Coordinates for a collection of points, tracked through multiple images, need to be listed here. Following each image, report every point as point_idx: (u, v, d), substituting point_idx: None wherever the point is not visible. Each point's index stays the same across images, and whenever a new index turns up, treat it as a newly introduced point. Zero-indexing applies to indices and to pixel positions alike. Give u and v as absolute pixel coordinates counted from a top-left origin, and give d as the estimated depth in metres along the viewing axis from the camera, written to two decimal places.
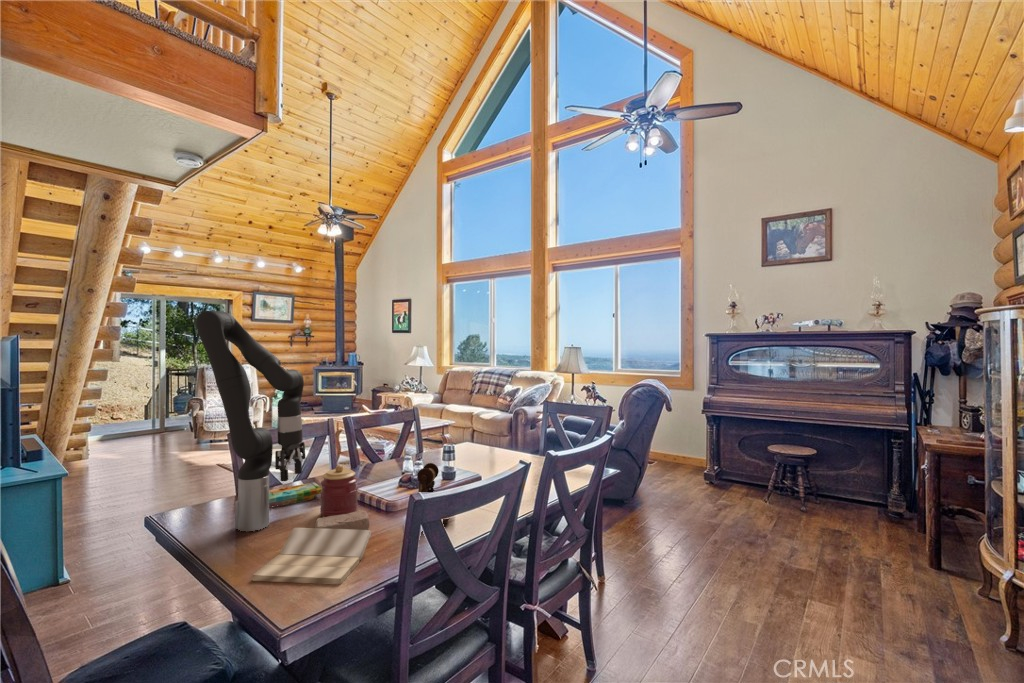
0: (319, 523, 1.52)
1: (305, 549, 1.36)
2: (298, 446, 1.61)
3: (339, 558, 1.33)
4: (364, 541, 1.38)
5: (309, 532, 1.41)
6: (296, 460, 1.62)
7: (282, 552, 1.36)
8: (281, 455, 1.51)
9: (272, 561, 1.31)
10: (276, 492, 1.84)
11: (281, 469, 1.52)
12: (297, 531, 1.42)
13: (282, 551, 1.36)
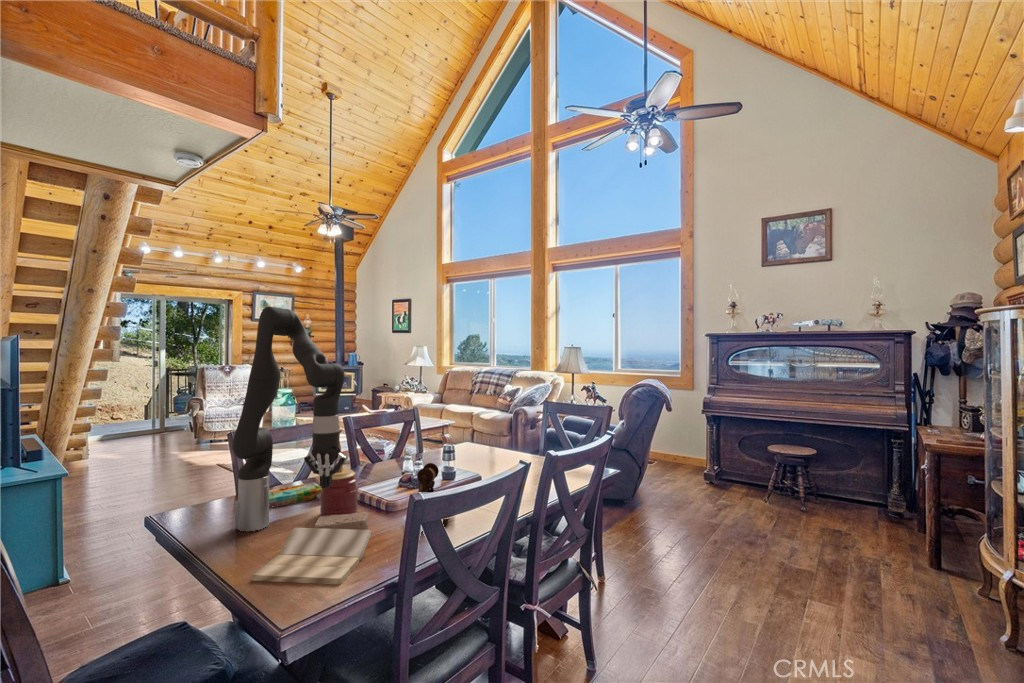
0: (318, 522, 1.53)
1: (305, 549, 1.36)
2: None
3: (339, 558, 1.33)
4: (364, 541, 1.38)
5: (309, 532, 1.41)
6: (323, 471, 1.40)
7: (282, 552, 1.36)
8: None
9: (272, 561, 1.31)
10: (276, 492, 1.84)
11: None
12: (297, 531, 1.42)
13: (282, 551, 1.36)
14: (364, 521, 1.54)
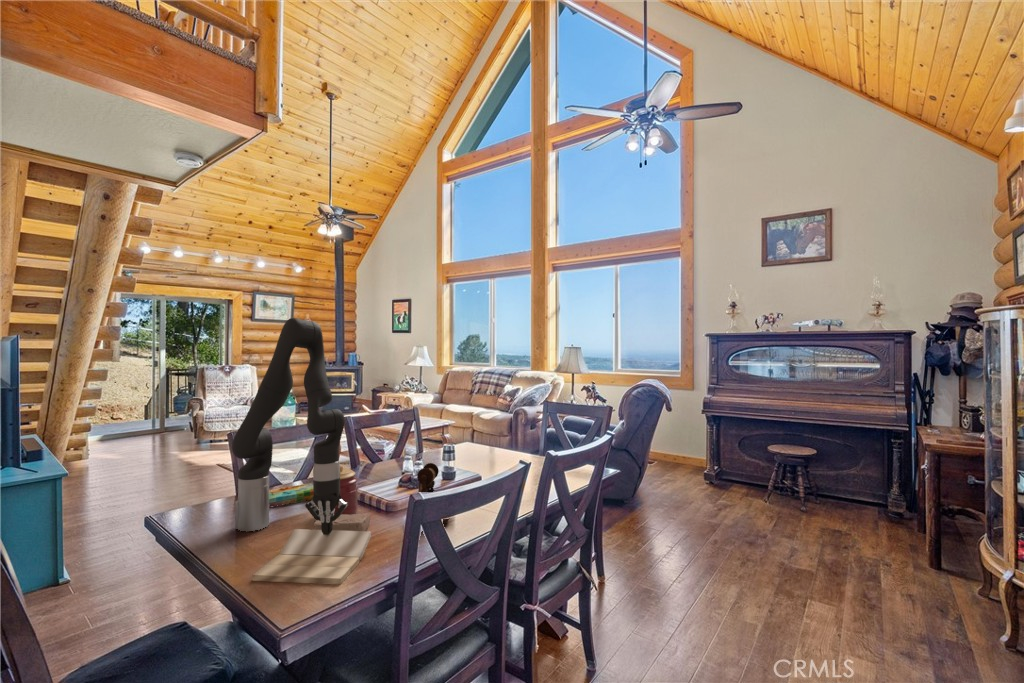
0: (318, 520, 1.55)
1: (305, 549, 1.36)
2: None
3: (339, 558, 1.33)
4: (364, 542, 1.38)
5: (309, 533, 1.42)
6: (324, 518, 1.41)
7: (282, 552, 1.36)
8: (345, 507, 1.42)
9: (272, 561, 1.31)
10: (276, 492, 1.84)
11: None
12: (297, 532, 1.42)
13: (282, 551, 1.36)
14: (360, 523, 1.52)
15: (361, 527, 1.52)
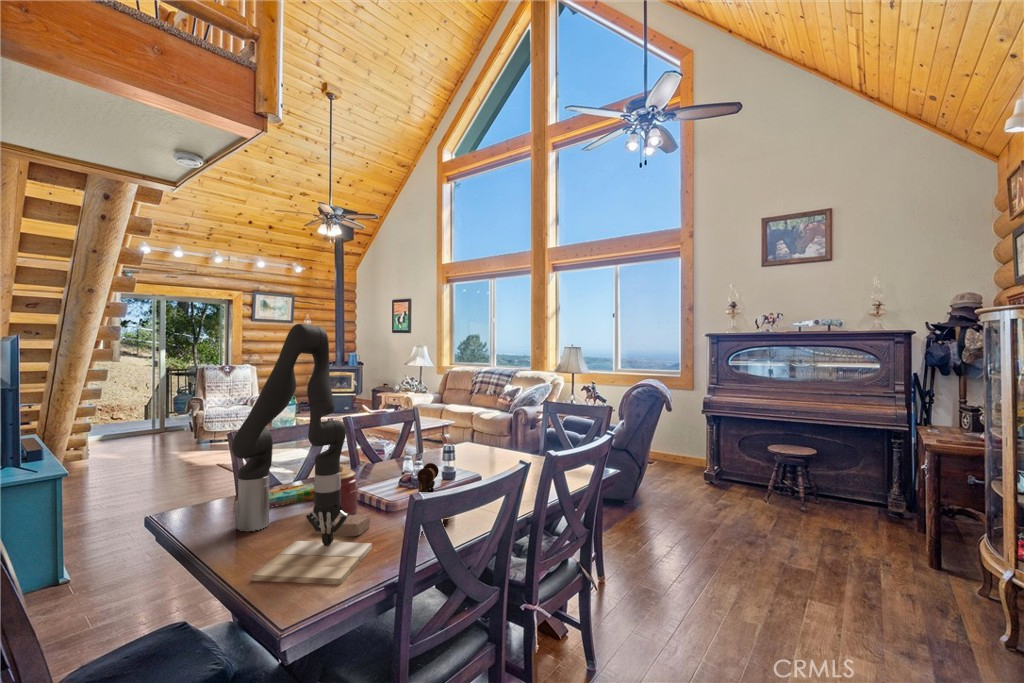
0: None
1: (305, 552, 1.37)
2: None
3: (339, 558, 1.33)
4: (365, 549, 1.39)
5: (311, 543, 1.42)
6: None
7: (282, 553, 1.36)
8: (346, 518, 1.42)
9: (272, 561, 1.31)
10: (276, 492, 1.84)
11: None
12: (299, 542, 1.43)
13: (282, 552, 1.36)
14: (356, 525, 1.51)
15: (357, 529, 1.51)
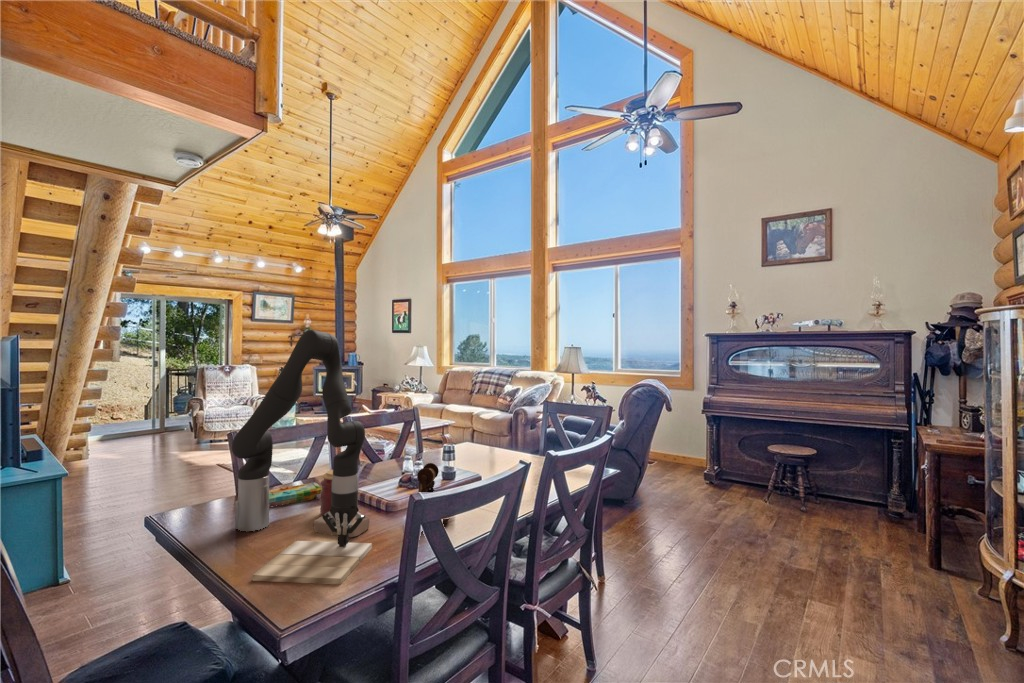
0: (320, 517, 1.57)
1: (305, 552, 1.37)
2: None
3: (339, 558, 1.33)
4: (365, 549, 1.39)
5: (311, 543, 1.42)
6: None
7: (282, 553, 1.36)
8: (362, 520, 1.41)
9: (272, 561, 1.31)
10: (276, 492, 1.84)
11: None
12: (299, 542, 1.43)
13: (282, 552, 1.36)
14: None
15: None
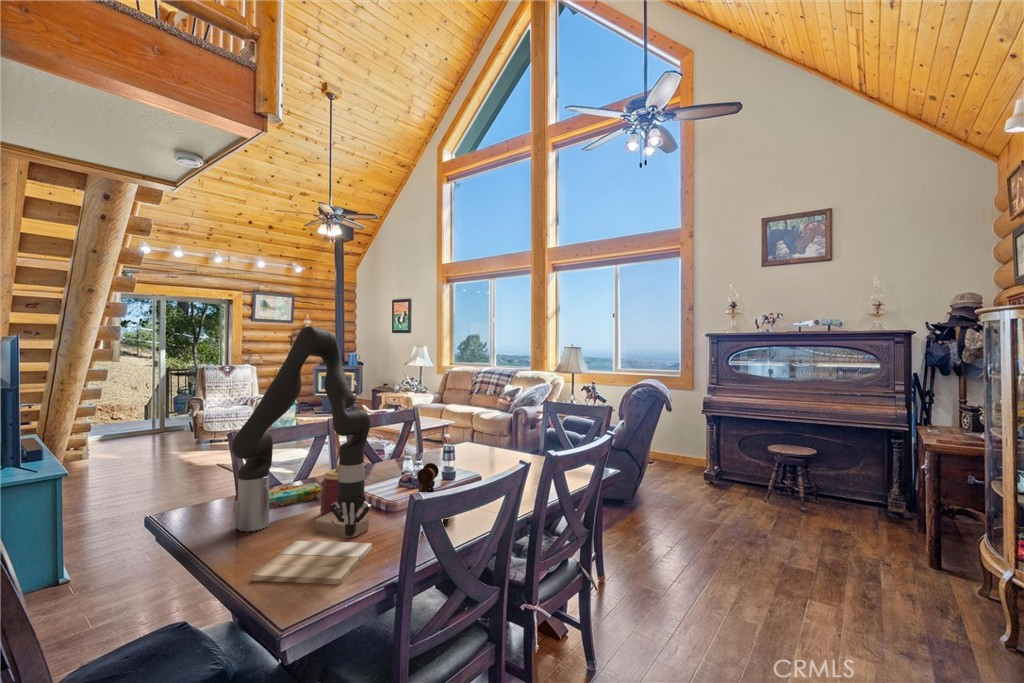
0: (321, 517, 1.57)
1: (305, 552, 1.37)
2: None
3: (339, 558, 1.33)
4: (365, 549, 1.39)
5: (311, 543, 1.42)
6: None
7: (282, 553, 1.36)
8: None
9: (272, 561, 1.31)
10: (276, 492, 1.84)
11: None
12: (299, 542, 1.43)
13: (282, 552, 1.36)
14: None
15: None
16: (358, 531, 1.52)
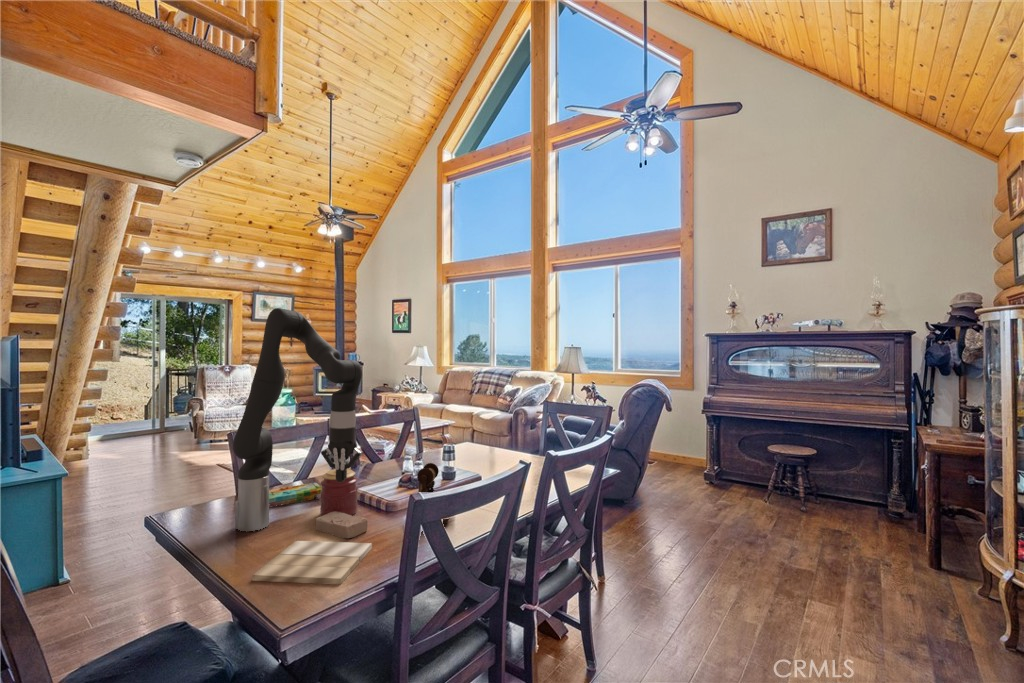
0: (323, 516, 1.58)
1: (305, 552, 1.37)
2: None
3: (339, 558, 1.33)
4: (365, 549, 1.39)
5: (311, 543, 1.42)
6: None
7: (282, 553, 1.36)
8: (360, 456, 1.44)
9: (272, 561, 1.31)
10: (276, 492, 1.84)
11: None
12: (299, 542, 1.43)
13: (282, 552, 1.36)
14: (346, 527, 1.49)
15: (347, 531, 1.49)
16: (355, 532, 1.51)
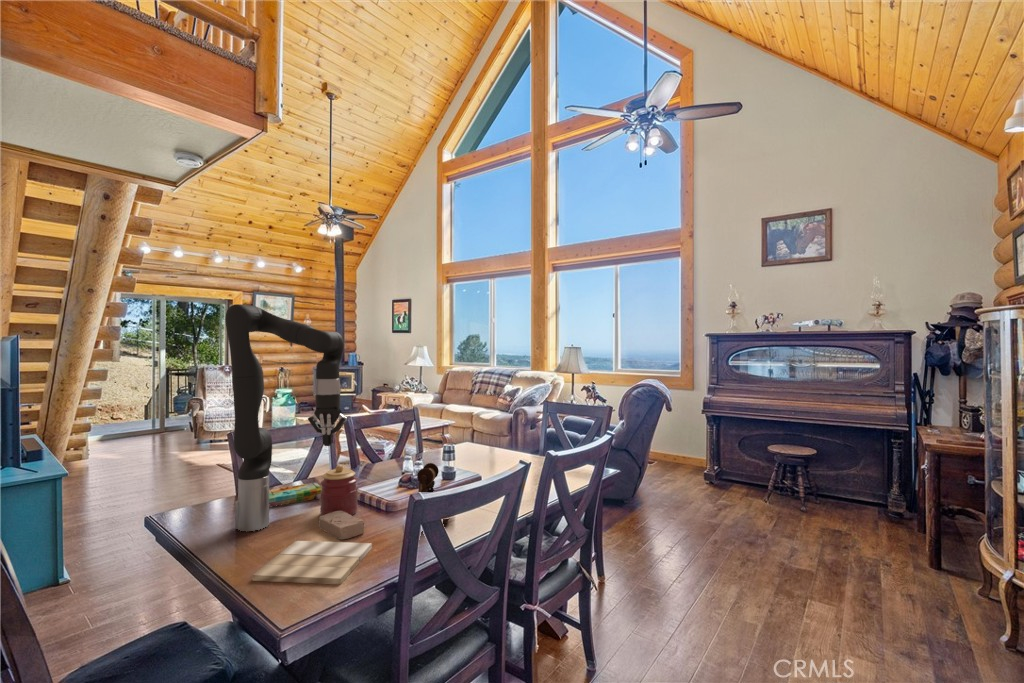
0: (326, 514, 1.60)
1: (305, 552, 1.37)
2: None
3: (339, 558, 1.33)
4: (365, 549, 1.39)
5: (311, 543, 1.42)
6: (325, 430, 1.52)
7: (282, 553, 1.36)
8: (345, 421, 1.53)
9: (272, 561, 1.31)
10: (277, 492, 1.84)
11: None
12: (299, 542, 1.43)
13: (282, 552, 1.36)
14: (340, 528, 1.48)
15: (340, 533, 1.48)
16: (349, 534, 1.49)
